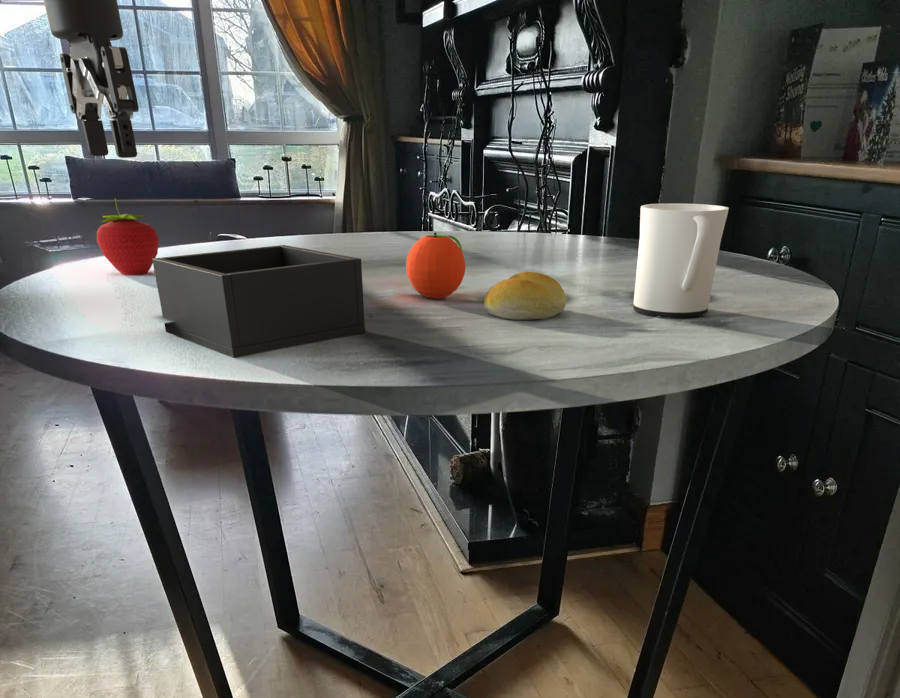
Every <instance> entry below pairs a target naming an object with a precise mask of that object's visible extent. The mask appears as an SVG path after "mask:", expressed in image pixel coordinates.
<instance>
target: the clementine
mask: <svg viewBox="0 0 900 698" xmlns="http://www.w3.org/2000/svg"><path fill="white" fill-rule="evenodd" d="M405 264H406V265H405V268H406V275H407V278H408V280H409V282H410V285H411V286H412V287H413V288H414V290H415V291H416V292H417V293H419V294H420V295H422V296H423V297H427V298H429V299H433V300H434V299H435V300H436V299H437V300H438V299H444V298H446V297H448V296H451V295H452V294H453V293H455V292H456V291H457V290H458V288H459V287H460V285H461V284H462V282H463V279H464V277H465V272H466V258H465V255H464V254H463V248H462V244H461V243H460V240H459V239H457V238H456V237H455V236H453V235H447V234H441V233H439V234H437V232H434V233H433V234H431V235H430V234H429V235H425V236H422V237H421V238H419V239H418V240H417V241H416V242H415V243H413V245H412V247H411V248H410V250H409V251H408V255H407V257H406V263H405Z"/></svg>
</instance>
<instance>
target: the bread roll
mask: <svg viewBox="0 0 900 698" xmlns="http://www.w3.org/2000/svg"><path fill="white" fill-rule="evenodd" d="M566 296H567V295H566V293H565V290H564V289H563V286H562V285H561V284H560V283H559V281H557V280H556V279H555V278H553V277H551V276H550V275H548V274H545V273H542V272H535V271H524V272H519V273H516V274H513V275H511V276H510V277H509V278H507V279H503V280H500V281H498V282H496V283H495V284H494V285H493V286H491V287H490V289H489V290H488V291H487V293H486V294H485V297H484V299H483V300H484V301H483V305H484V309H485V311H487V313H489V314H490V315H493V316H495V317H497V318H500V319H506V320H518V321H519V320H520V321H529V320H530V321H531V320H545V319H547V320H548V319H549V318H553V317H554V316H556V315H558V314H560V313H561V312H563V311H564V309H565V308H566V306H567V297H566Z"/></svg>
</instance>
